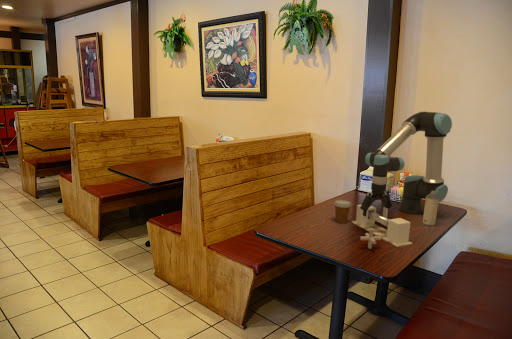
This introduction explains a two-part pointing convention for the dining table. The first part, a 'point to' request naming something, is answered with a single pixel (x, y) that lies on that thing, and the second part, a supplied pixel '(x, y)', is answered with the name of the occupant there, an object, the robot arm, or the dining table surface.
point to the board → (381, 233)
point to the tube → (378, 218)
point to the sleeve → (360, 216)
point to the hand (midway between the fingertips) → (374, 220)
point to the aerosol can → (430, 209)
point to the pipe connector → (370, 238)
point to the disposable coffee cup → (342, 210)
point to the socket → (398, 230)
